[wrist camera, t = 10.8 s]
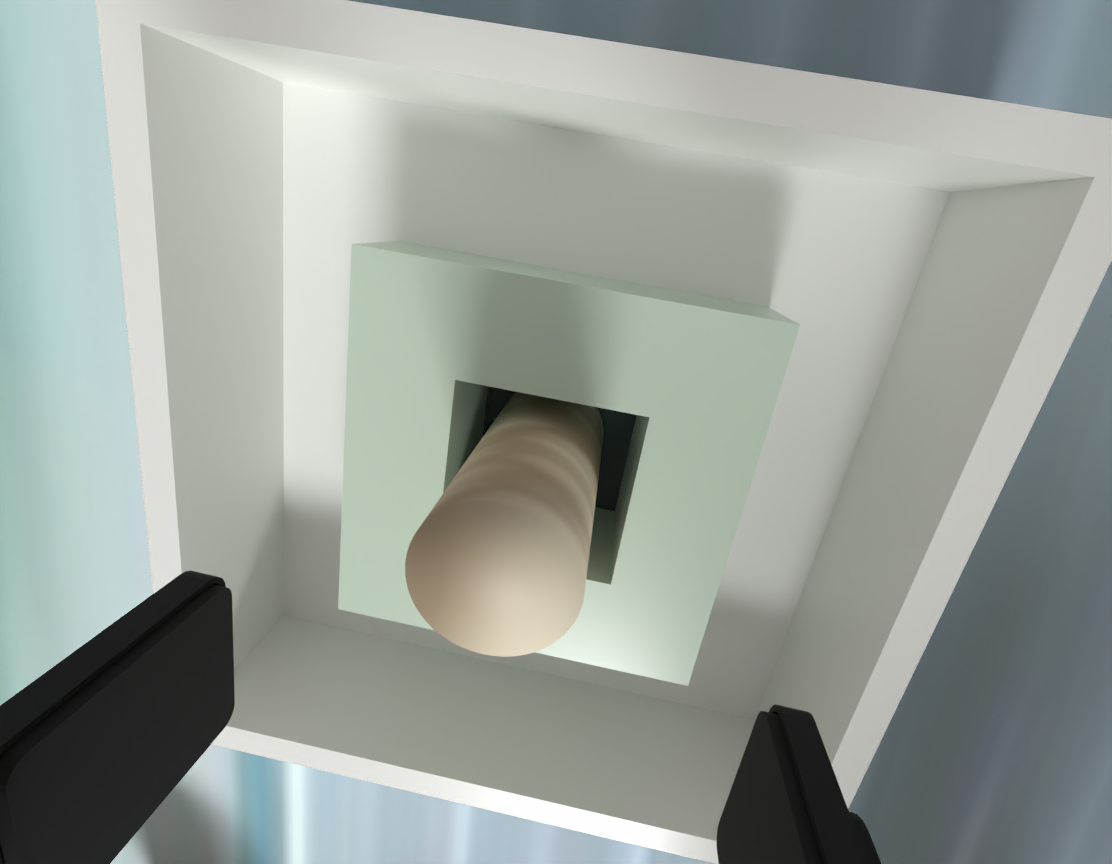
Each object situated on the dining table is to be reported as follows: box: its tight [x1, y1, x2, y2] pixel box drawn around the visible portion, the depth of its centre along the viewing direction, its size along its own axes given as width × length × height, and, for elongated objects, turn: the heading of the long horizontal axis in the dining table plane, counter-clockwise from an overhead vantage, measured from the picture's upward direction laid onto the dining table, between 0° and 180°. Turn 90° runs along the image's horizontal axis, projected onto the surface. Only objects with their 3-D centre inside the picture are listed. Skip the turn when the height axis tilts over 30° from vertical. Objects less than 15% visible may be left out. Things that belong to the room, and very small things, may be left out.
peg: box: [405, 392, 604, 657], centre depth 17 cm, size 4×4×10 cm
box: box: [95, 0, 1112, 864], centre depth 19 cm, size 22×22×7 cm
